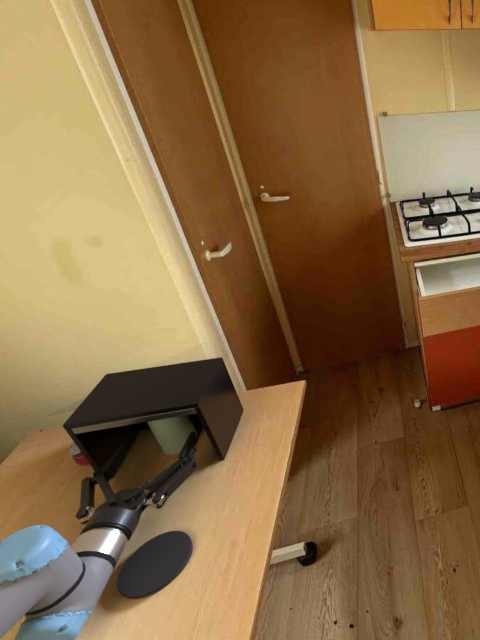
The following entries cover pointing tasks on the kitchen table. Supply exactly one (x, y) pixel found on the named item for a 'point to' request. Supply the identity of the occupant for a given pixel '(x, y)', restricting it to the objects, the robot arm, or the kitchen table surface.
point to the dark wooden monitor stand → (155, 407)
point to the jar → (172, 432)
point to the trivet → (155, 564)
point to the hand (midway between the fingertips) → (160, 441)
